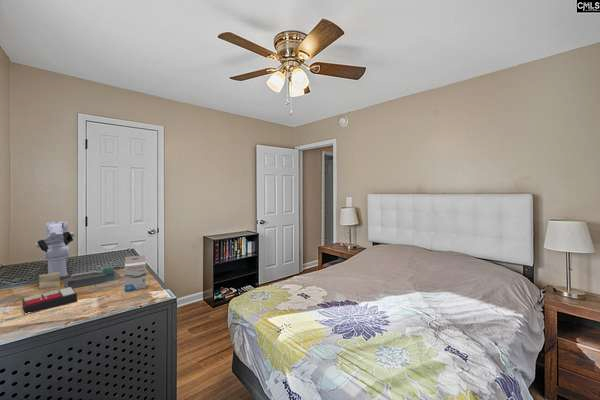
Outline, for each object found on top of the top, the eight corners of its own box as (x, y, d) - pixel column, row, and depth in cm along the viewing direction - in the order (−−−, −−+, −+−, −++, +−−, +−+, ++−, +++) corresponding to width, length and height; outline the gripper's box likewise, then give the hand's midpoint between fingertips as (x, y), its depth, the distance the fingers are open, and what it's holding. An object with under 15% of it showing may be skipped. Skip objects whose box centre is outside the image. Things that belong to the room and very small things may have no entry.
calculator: (21, 297, 103) (71, 285, 115) (23, 308, 104) (72, 294, 115) (23, 305, 96) (76, 291, 108) (25, 316, 97) (77, 301, 108)
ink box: (124, 291, 118) (124, 259, 118) (124, 288, 123) (124, 257, 122) (146, 288, 123) (146, 256, 123) (145, 284, 127) (145, 254, 127)
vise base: (63, 280, 134) (63, 272, 133) (115, 271, 149) (115, 264, 149) (65, 290, 120) (64, 282, 120) (122, 279, 135) (122, 272, 135)
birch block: (39, 287, 123) (39, 275, 123) (59, 284, 128) (59, 272, 128) (39, 290, 120) (39, 277, 120) (60, 286, 125) (59, 273, 125)
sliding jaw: (71, 279, 133) (71, 272, 133) (113, 272, 146) (113, 265, 145) (71, 280, 131) (71, 273, 131) (114, 273, 143) (114, 266, 143)
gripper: (33, 234, 129) (31, 246, 119) (70, 223, 137) (70, 233, 127) (40, 246, 132) (38, 258, 122) (76, 234, 140) (77, 245, 130)
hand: (55, 246), depth 125 cm, fingers open, 7 cm apart
